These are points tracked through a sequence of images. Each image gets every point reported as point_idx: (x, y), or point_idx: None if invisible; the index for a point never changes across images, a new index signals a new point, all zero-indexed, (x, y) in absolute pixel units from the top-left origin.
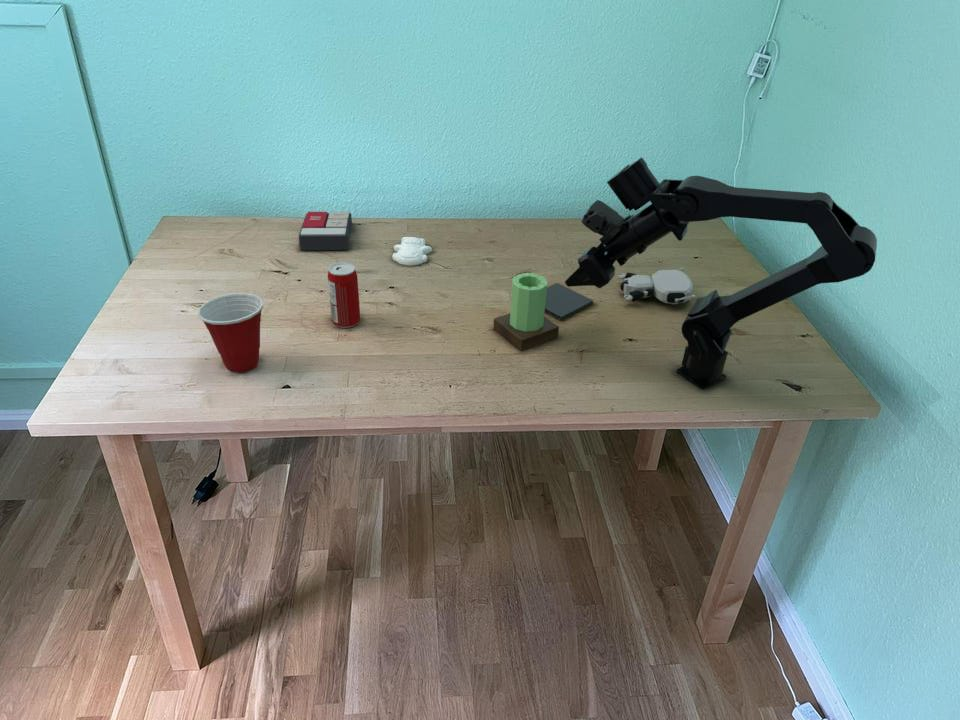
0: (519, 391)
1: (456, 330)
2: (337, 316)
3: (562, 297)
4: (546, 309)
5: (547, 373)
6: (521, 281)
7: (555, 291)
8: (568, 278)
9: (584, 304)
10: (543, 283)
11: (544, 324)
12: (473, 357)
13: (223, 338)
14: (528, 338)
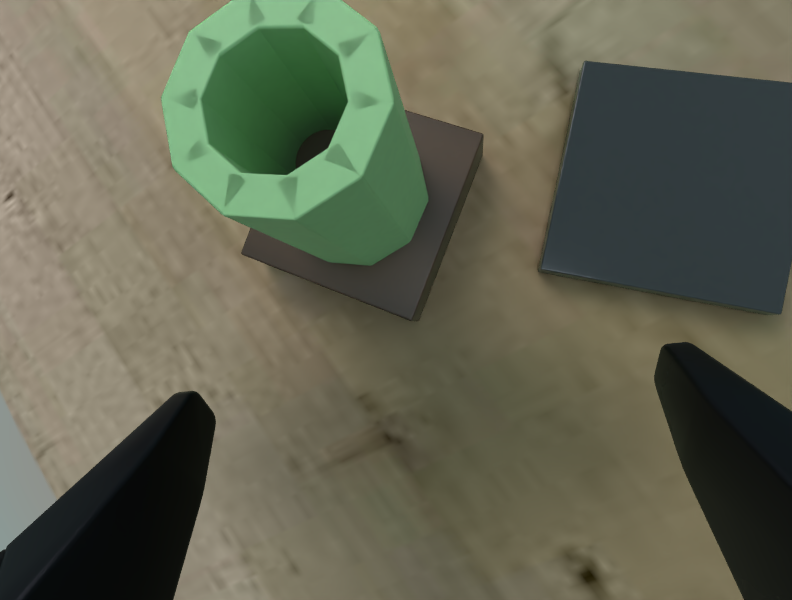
0: (86, 372)
1: None
2: None
3: (701, 185)
4: (557, 184)
5: (207, 399)
6: (297, 46)
7: (733, 129)
8: (121, 444)
9: (712, 298)
10: (300, 187)
11: (389, 262)
12: (152, 159)
13: None
14: (268, 264)
